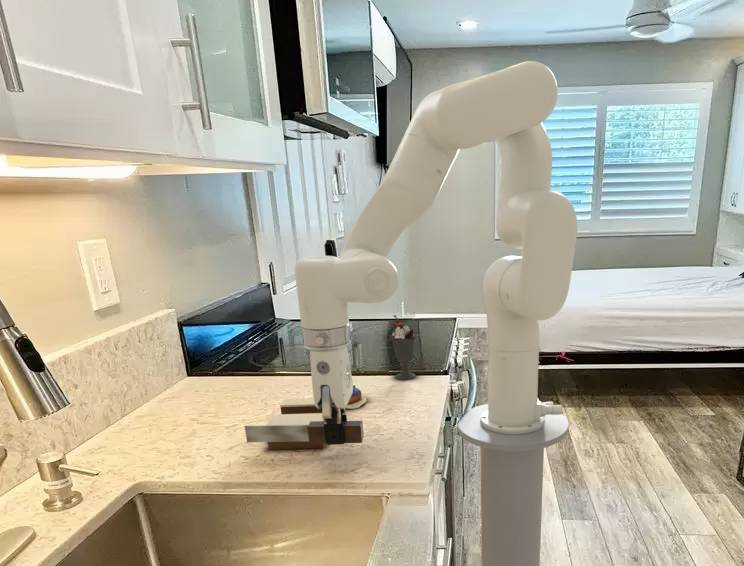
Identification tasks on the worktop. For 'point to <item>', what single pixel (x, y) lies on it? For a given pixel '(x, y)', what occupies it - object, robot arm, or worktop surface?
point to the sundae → (403, 348)
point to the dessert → (356, 399)
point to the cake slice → (299, 406)
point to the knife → (302, 432)
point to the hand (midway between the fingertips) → (337, 439)
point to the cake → (294, 420)
